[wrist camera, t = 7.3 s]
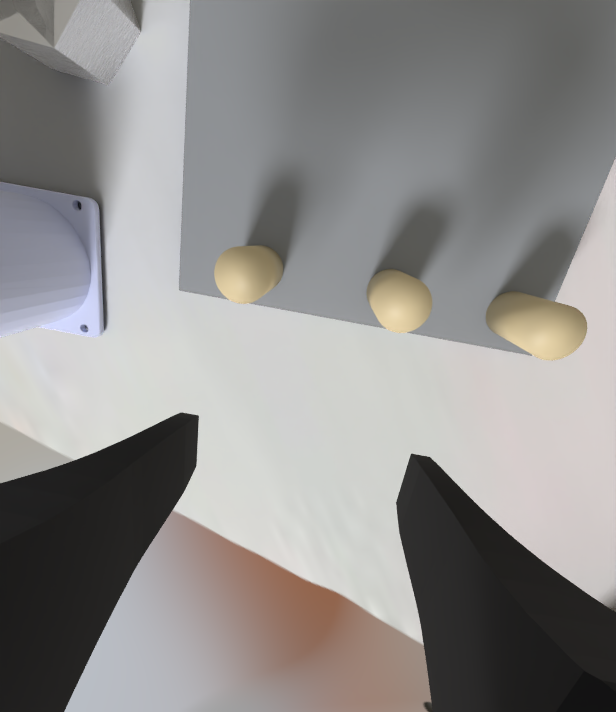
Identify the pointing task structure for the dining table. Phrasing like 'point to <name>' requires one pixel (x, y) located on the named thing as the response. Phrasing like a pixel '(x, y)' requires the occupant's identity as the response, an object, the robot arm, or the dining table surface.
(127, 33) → the faceted star polyhedron
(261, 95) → the board
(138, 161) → the dining table surface
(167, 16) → the dining table surface
